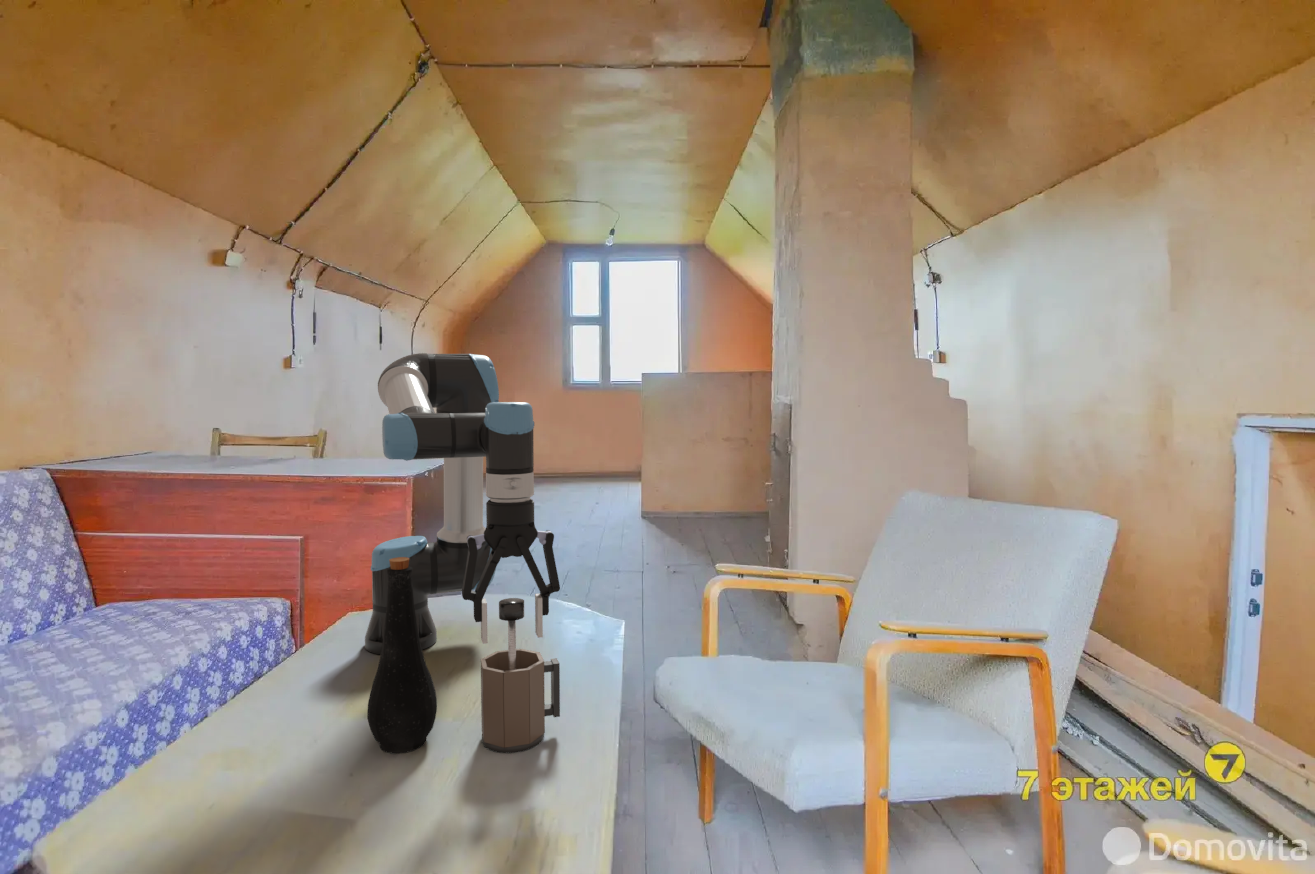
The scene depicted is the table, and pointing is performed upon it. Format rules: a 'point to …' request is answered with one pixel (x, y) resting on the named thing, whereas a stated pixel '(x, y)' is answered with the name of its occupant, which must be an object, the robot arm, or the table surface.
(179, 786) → the table surface
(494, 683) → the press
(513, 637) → the plunger
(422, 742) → the bottle
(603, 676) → the table surface
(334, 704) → the table surface
